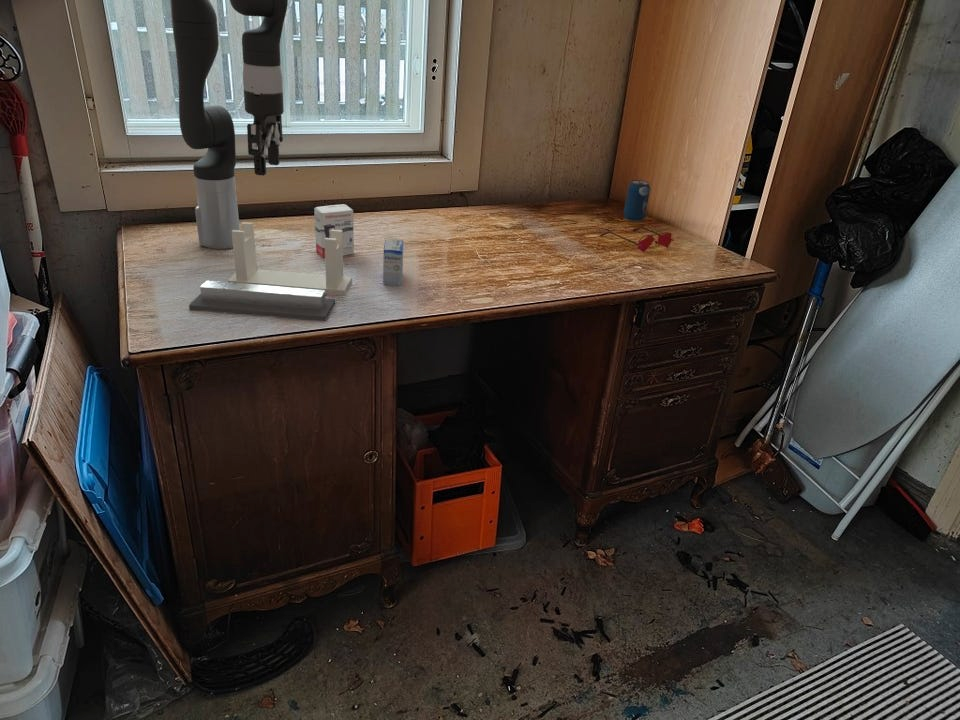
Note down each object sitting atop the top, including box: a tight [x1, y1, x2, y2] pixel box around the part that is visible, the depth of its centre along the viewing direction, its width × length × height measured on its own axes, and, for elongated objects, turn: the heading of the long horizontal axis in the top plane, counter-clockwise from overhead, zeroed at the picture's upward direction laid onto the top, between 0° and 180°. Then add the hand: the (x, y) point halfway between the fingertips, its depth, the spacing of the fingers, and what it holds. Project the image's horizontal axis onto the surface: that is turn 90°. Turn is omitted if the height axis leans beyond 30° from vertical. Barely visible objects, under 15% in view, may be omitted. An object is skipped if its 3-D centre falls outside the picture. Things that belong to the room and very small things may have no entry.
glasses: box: [599, 226, 675, 252], centre depth 201 cm, size 14×16×5 cm
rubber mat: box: [188, 293, 336, 322], centre depth 144 cm, size 28×9×1 cm, turn 88°
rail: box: [199, 279, 326, 310], centre depth 144 cm, size 25×4×3 cm, turn 88°
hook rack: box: [227, 221, 353, 296], centre depth 153 cm, size 26×8×12 cm, turn 88°
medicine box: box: [382, 238, 404, 286], centre depth 161 cm, size 8×4×9 cm, turn 5°
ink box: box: [313, 203, 355, 259], centre depth 173 cm, size 8×5×12 cm, turn 123°
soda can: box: [623, 179, 651, 223], centre depth 220 cm, size 7×7×12 cm
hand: (267, 169), depth 145 cm, fingers open, 8 cm apart
